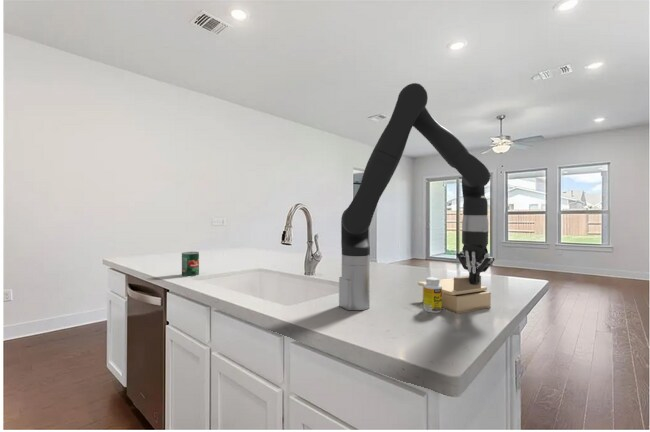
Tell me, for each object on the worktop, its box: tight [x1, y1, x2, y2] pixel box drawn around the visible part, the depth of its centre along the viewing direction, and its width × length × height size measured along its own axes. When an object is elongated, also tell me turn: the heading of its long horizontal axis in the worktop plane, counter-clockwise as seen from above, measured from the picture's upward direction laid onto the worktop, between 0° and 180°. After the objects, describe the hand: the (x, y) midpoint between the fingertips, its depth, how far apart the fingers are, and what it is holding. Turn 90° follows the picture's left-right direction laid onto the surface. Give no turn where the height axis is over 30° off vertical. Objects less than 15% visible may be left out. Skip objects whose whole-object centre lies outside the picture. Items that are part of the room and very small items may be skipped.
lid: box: [417, 275, 488, 295], centre depth 111 cm, size 16×16×5 cm
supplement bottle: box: [422, 276, 443, 314], centre depth 103 cm, size 6×6×10 cm
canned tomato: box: [181, 251, 200, 277], centre depth 159 cm, size 8×8×11 cm
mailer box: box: [422, 286, 492, 315], centre depth 110 cm, size 15×15×5 cm
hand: (474, 284), depth 103 cm, fingers closed
